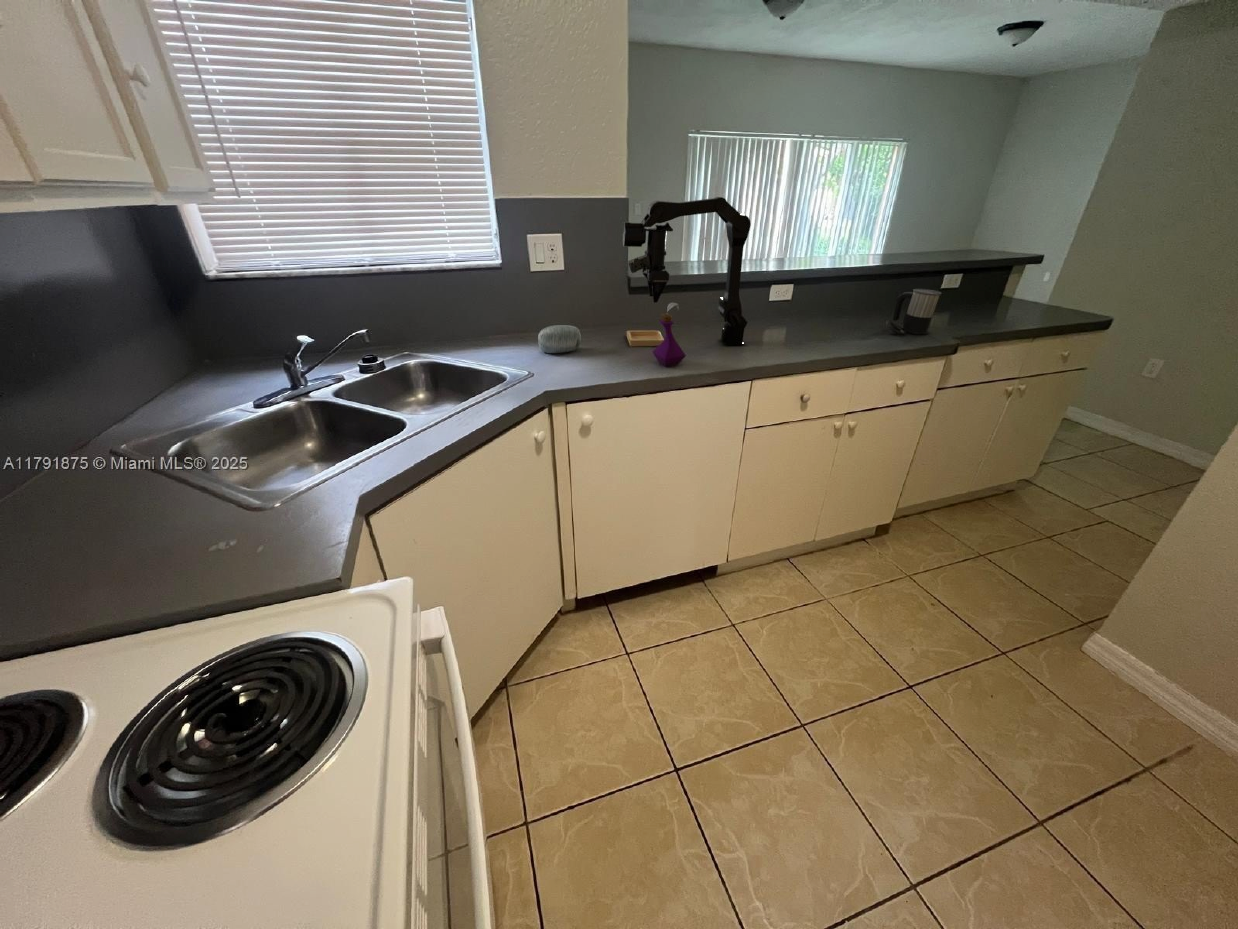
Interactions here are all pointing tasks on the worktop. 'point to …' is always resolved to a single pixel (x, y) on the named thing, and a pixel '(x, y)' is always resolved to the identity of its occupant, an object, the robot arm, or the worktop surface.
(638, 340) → the wooden tray
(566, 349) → the grey rounded pouf
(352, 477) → the worktop surface
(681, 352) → the perfume bottle
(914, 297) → the milk frother
